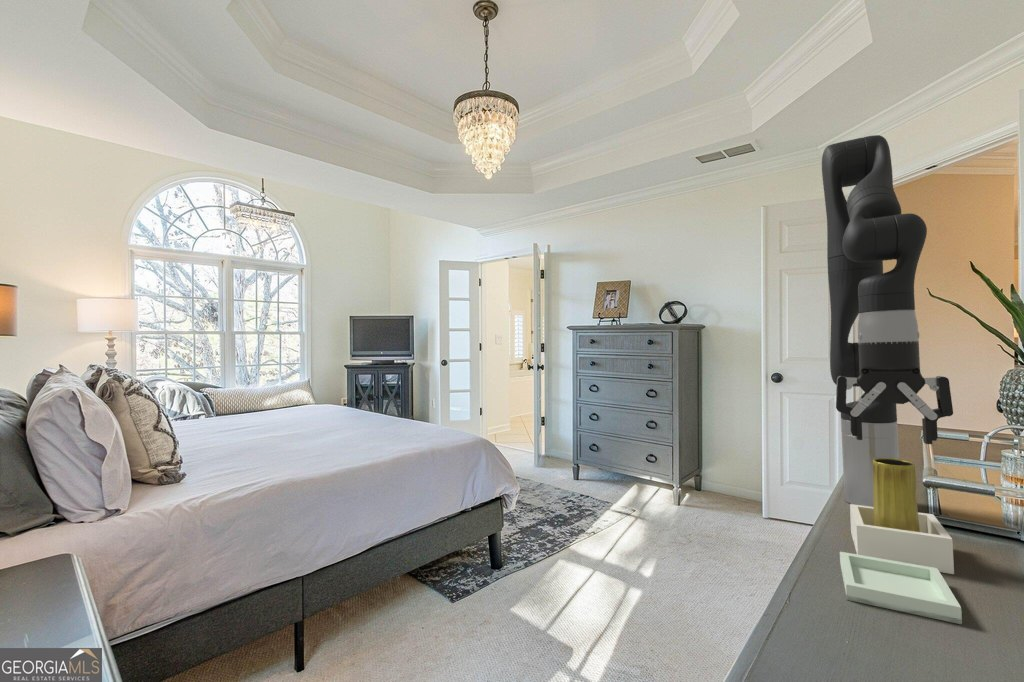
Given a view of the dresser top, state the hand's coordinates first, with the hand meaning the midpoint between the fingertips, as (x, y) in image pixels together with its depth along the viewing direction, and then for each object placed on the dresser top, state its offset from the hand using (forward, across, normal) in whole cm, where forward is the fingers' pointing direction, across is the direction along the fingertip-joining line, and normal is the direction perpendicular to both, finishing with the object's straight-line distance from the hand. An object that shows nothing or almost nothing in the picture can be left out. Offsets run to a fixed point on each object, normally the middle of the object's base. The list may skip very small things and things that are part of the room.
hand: (892, 441), depth 73 cm
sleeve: (+18, 0, 0) cm, 18 cm away
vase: (+18, 0, 0) cm, 18 cm away
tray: (+18, +2, +15) cm, 23 cm away
